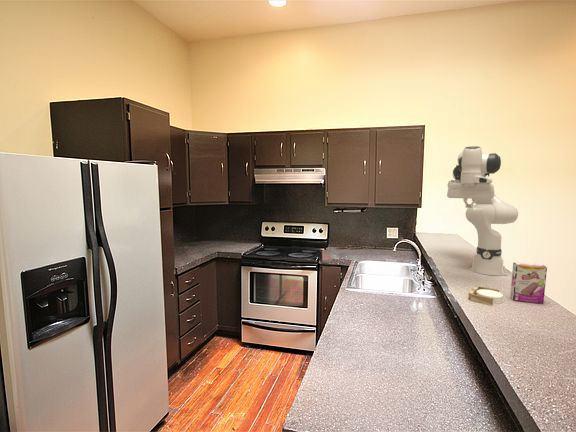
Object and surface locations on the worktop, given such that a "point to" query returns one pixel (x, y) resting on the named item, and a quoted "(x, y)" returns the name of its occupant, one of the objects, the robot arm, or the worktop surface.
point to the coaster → (491, 295)
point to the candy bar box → (528, 282)
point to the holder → (481, 298)
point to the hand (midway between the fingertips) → (469, 207)
